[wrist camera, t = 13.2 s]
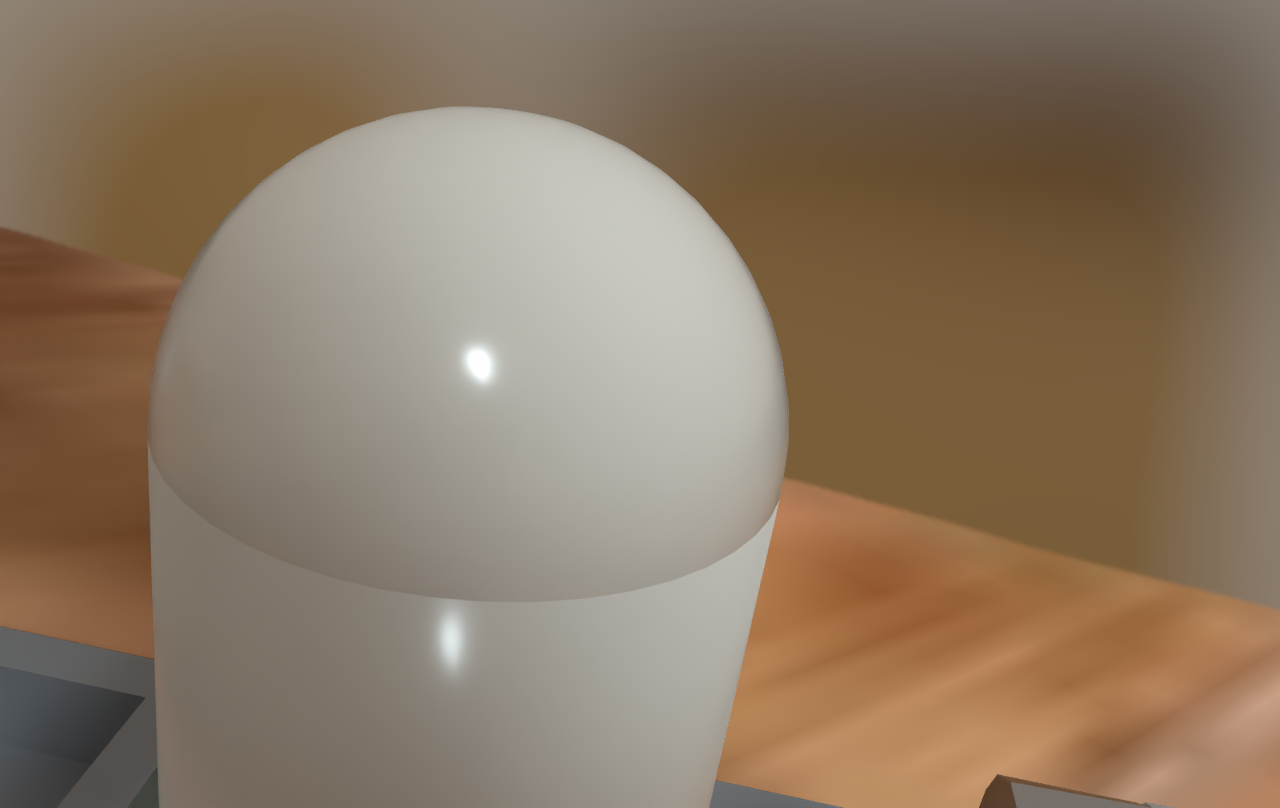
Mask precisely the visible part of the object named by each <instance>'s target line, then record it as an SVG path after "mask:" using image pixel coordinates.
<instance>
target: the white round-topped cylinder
mask: <svg viewBox="0 0 1280 808" xmlns="http://www.w3.org/2000/svg"><path fill="white" fill-rule="evenodd" d="M784 379H785V378H784V371H783V365H782V357H781V352H780V349H779V345H778V342H777V338H776V335H775V331H774V328H773V324H772V321H771V317H770V315H769V313H768V311H767V308H766V306H765V304H764V302H763V299H762V297H761V295H760V293H759V291H758V288H757V286H756V284H755V282H754V280H753V278H752V276H751V273H750V271H749V270H748V268H747V266H746V265H745V263H744V262H743V260H742V259H741V257H740V255H739V254H738V252H737V251H736V249H735V247H734V246H733V244H732V243H731V241H730V240H729V238H728V237H727V236H726V234H725V233H724V232H723V231H722V230H721V229H720V227H719V226H718V225H717V224H716V223H715V222H714V221H713V219H712V218H711V217H710V216H709V215H708V213H707V212H706V211H705V210H704V209H703V208H702V206H701V205H700V204H699V203H698V202H697V201H696V200H695V199H694V198H693V197H692V196H691V195H690V194H689V193H687V192H686V191H685V190H684V189H683V188H682V187H680V186H679V185H678V184H677V183H676V182H675V181H674V180H672V179H671V178H670V177H669V176H668V175H667V174H665V173H664V172H663V171H661V170H660V169H659V168H657V167H656V166H654V165H653V164H651V163H650V162H648V161H646V160H645V159H643V158H642V157H640V156H639V155H637V154H635V153H634V152H632V151H631V150H629V149H628V148H626V147H624V146H623V145H621V144H619V143H617V142H615V141H613V140H610V139H608V138H606V137H603V136H601V135H599V134H596V133H594V132H592V131H590V130H587V129H585V128H583V127H580V126H578V125H575V124H572V123H569V122H566V121H563V120H559V119H555V118H552V117H547V116H543V115H538V114H533V113H527V112H521V111H515V110H508V109H498V108H487V107H444V108H437V109H429V110H422V111H416V112H409V113H403V114H397V115H393V116H389V117H386V118H383V119H380V120H377V121H373V122H370V123H367V124H364V125H361V126H358V127H355V128H352V129H349V130H347V131H344V132H342V133H340V134H338V135H336V136H334V137H332V138H330V139H328V140H326V141H324V142H322V143H320V144H318V145H316V146H314V147H312V148H310V149H308V150H306V151H305V152H303V153H301V154H300V155H298V156H297V157H295V158H294V159H293V160H291V161H290V162H288V163H287V164H285V165H284V166H282V167H281V168H280V169H278V170H277V171H275V172H274V173H272V174H271V175H270V176H268V177H267V178H265V179H264V180H263V181H262V182H261V183H260V184H259V185H257V186H256V187H255V188H254V189H253V190H252V191H251V192H250V193H249V194H248V195H247V196H246V197H245V198H244V199H243V200H242V201H241V202H240V203H239V204H237V205H236V206H235V207H234V208H233V210H232V211H231V212H230V213H229V214H228V215H227V216H226V217H225V219H224V220H223V221H222V222H221V224H220V225H219V226H218V227H217V229H216V230H215V231H214V233H213V234H212V235H211V236H210V238H209V239H208V240H207V242H206V243H205V244H204V245H203V247H202V248H201V249H200V251H199V253H198V254H197V256H196V258H195V260H194V262H193V263H192V265H191V267H190V269H189V270H188V272H187V274H186V276H185V278H184V279H183V281H182V283H181V285H180V286H179V289H178V291H177V293H176V296H175V298H174V300H173V303H172V306H171V308H170V311H169V314H168V316H167V319H166V322H165V324H164V327H163V330H162V332H161V335H160V338H159V341H158V346H157V351H156V355H155V360H154V365H153V370H152V375H151V381H150V395H149V413H148V434H147V445H148V477H149V508H150V540H151V572H152V603H153V635H154V667H155V699H156V730H157V762H158V794H159V808H709V806H710V802H711V797H712V793H713V789H714V784H715V780H716V775H717V771H718V767H719V762H720V758H721V754H722V749H723V745H724V740H725V736H726V732H727V727H728V723H729V718H730V714H731V710H732V705H733V701H734V697H735V692H736V688H737V683H738V679H739V675H740V670H741V666H742V662H743V657H744V653H745V648H746V644H747V640H748V635H749V631H750V627H751V622H752V618H753V613H754V609H755V605H756V600H757V596H758V592H759V587H760V583H761V578H762V574H763V570H764V565H765V561H766V557H767V552H768V548H769V543H770V539H771V535H772V530H773V526H774V522H775V517H776V513H777V508H778V504H779V500H780V494H781V488H782V482H783V475H784V469H785V462H786V456H787V449H788V400H787V393H786V386H785V380H784Z"/></svg>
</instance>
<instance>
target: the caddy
mask: <svg viewBox="0 0 1280 808" xmlns="http://www.w3.org/2000/svg"><path fill="white" fill-rule="evenodd" d="M0 808H159V794H158V762H157V730H156V699H155V667H154V659H150V658H145V657H140V656H136V655H131V654H126V653H122V652H117V651H112V650H108V649H103V648H98V647H94V646H89V645H85V644H80V643H75V642H71V641H66V640H61V639H57V638H52V637H47V636H43V635H38V634H33V633H29V632H24V631H19V630H15V629H10V628H5V627H1V626H0ZM709 808H842V807H838V806H833V805H828V804H824V803H819V802H814V801H810V800H805V799H800V798H796V797H791V796H786V795H782V794H777V793H773V792H768V791H763V790H759V789H754V788H749V787H745V786H740V785H735V784H731V783H726V782H721V781H717V780H715V784H714V789H713V793H712V797H711V802H710V806H709Z"/></svg>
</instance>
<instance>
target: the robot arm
mask: <svg viewBox="0 0 1280 808" xmlns="http://www.w3.org/2000/svg"><path fill="white" fill-rule="evenodd" d="M979 808H1173V807H1168V806H1162V805H1157V804H1152V803H1144V804H1139V803H1136V802H1131V801H1126V800H1121V799H1116V798H1111V797H1106V796H1101V795H1096V794H1091V793H1086V792H1082V791H1077V790H1072V789H1067V788H1062V787H1057V786H1052V785H1047V784H1042V783H1037V782H1032V781H1027V780H1022V779H1018V778H1013V777H1008V776H1003V775H998V774H997V776H996V777H995V778H994V780H993V781H992V782H991V784H990V785H989V786H988V788H987V789H986V791H985V793H984V796H983V799H982V801H981V804H980V806H979Z"/></svg>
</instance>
